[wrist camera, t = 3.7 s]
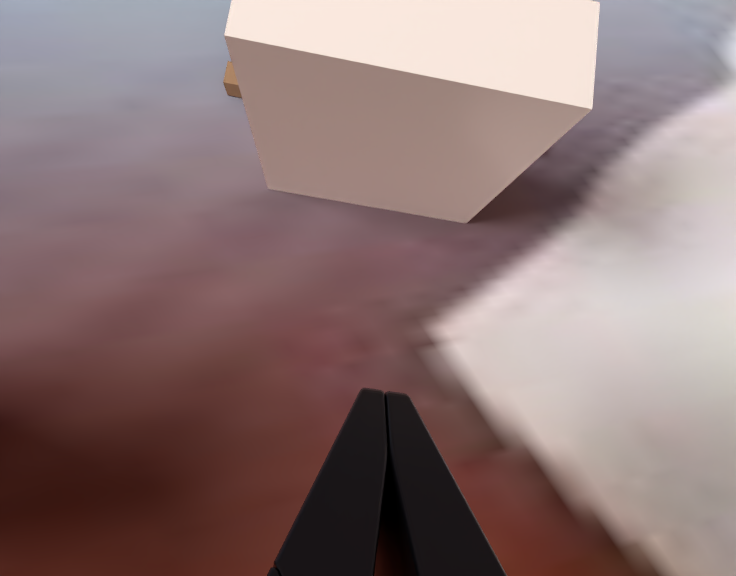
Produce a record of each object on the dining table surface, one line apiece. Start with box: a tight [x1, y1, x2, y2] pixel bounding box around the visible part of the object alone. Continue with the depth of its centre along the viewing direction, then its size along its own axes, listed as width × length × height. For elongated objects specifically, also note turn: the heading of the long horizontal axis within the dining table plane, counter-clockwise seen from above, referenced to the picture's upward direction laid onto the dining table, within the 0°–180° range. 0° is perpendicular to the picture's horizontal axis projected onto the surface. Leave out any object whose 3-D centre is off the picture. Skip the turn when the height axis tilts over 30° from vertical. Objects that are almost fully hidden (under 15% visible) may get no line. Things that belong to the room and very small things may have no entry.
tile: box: [224, 0, 600, 223], centre depth 16 cm, size 3×9×10 cm, turn 82°
